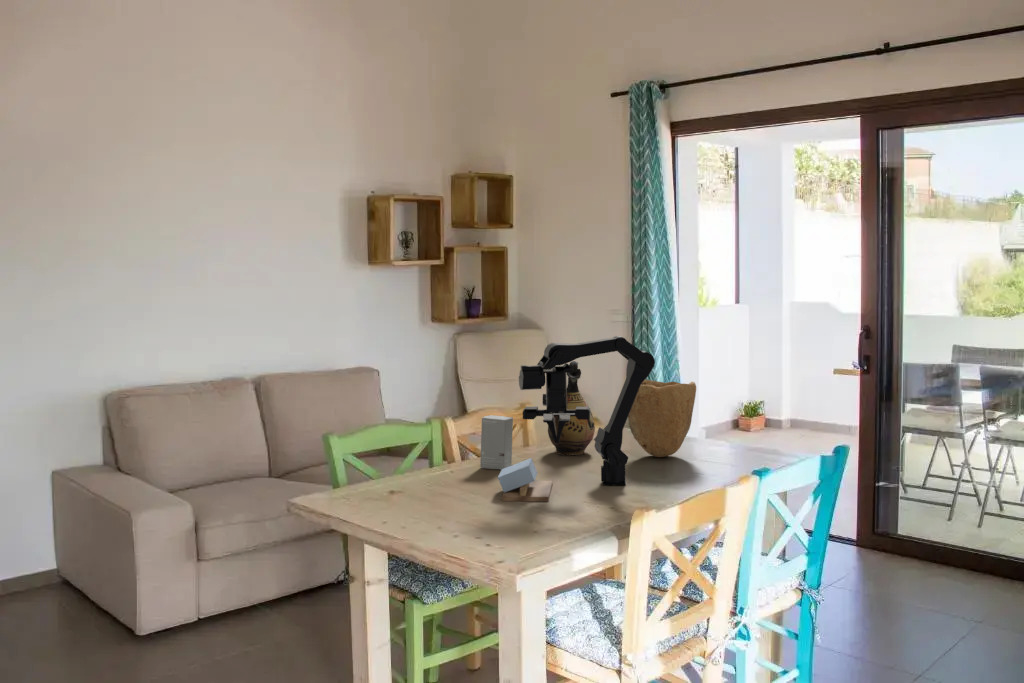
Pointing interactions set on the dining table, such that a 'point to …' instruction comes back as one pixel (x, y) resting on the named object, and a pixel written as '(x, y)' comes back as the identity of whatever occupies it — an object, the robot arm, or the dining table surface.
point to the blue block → (517, 475)
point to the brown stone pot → (662, 416)
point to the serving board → (530, 492)
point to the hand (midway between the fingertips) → (556, 443)
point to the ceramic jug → (574, 420)
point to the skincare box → (496, 442)
